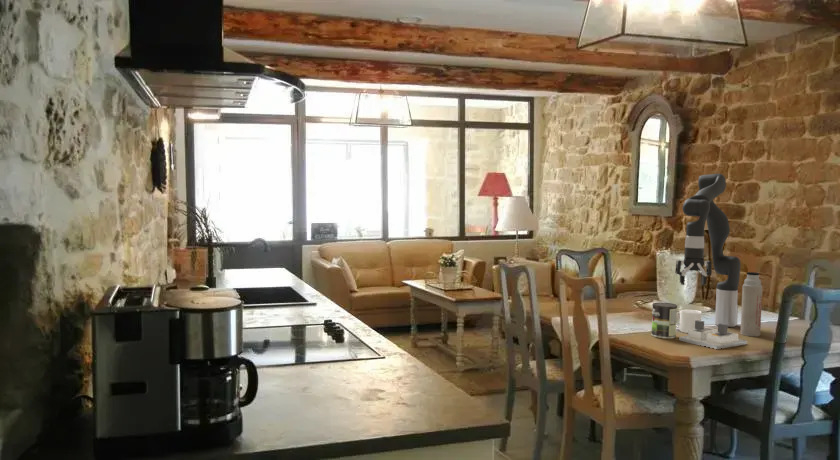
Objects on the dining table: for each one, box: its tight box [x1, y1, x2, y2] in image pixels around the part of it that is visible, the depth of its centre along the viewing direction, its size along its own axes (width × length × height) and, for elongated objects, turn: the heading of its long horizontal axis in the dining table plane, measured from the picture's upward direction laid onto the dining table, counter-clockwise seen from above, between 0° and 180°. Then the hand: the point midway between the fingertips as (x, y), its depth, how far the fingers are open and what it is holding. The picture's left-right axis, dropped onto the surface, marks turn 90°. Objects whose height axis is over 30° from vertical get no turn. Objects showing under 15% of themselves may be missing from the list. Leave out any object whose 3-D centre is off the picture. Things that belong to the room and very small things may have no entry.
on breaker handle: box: [695, 320, 705, 330], centre depth 285 cm, size 2×3×4 cm, turn 30°
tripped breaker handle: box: [717, 323, 729, 334], centre depth 279 cm, size 2×3×4 cm, turn 30°
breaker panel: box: [678, 326, 748, 350], centre depth 283 cm, size 20×18×5 cm
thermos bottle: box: [740, 271, 763, 337], centre depth 299 cm, size 8×8×28 cm
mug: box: [676, 309, 702, 334], centre depth 305 cm, size 12×9×9 cm
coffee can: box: [650, 301, 678, 340], centre depth 294 cm, size 10×10×14 cm
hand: (692, 284), depth 283 cm, fingers open, 8 cm apart
